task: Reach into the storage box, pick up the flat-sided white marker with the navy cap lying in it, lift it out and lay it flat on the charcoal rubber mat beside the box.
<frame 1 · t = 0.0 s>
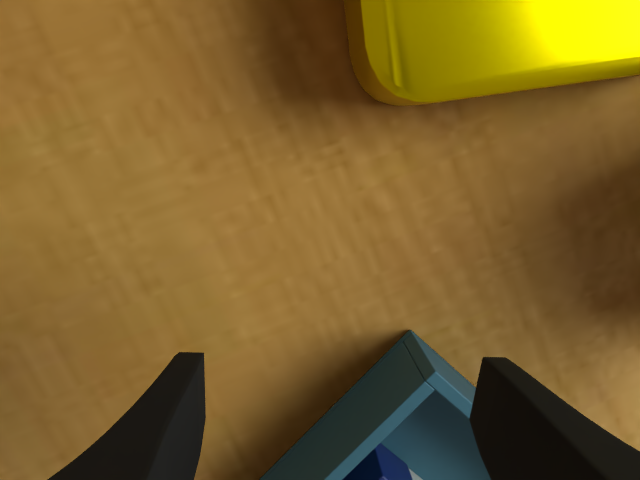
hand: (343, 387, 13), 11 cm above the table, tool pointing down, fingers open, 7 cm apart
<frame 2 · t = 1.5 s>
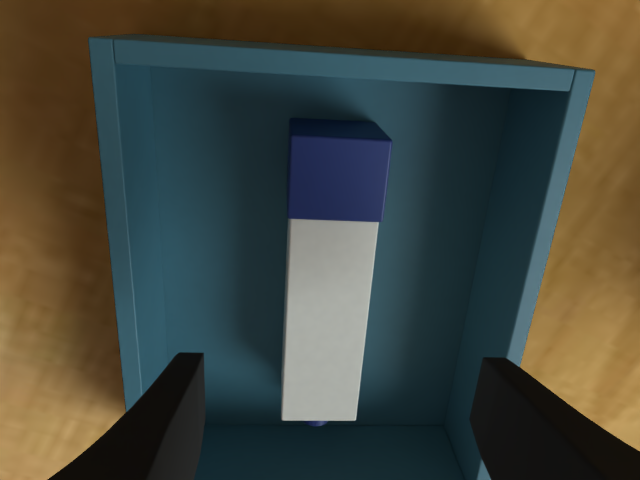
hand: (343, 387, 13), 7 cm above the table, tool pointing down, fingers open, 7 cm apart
storage box: (321, 267, 20), on the table
marker: (322, 267, 20), resting on storage box
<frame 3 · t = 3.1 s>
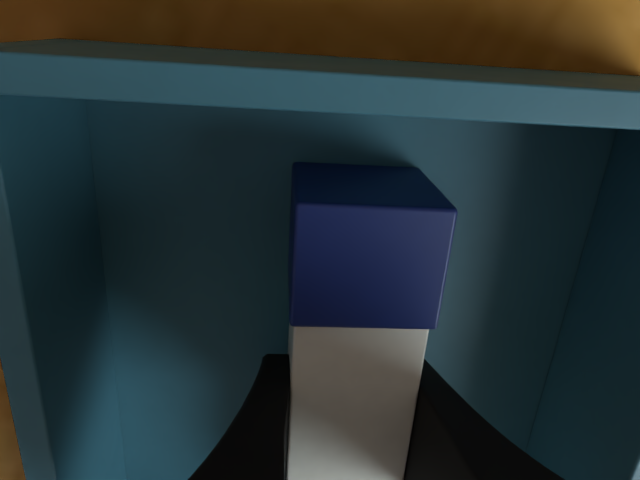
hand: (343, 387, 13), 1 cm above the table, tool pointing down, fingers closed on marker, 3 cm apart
storage box: (337, 360, 15), on the table
marker: (338, 363, 14), resting on storage box, touching gripper
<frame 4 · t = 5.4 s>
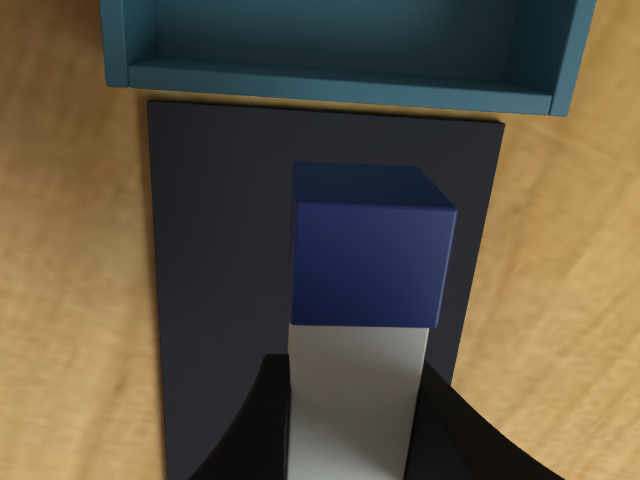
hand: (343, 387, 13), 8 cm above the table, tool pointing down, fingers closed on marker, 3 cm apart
mat: (313, 332, 22), on the table
marker: (338, 362, 14), point 7 cm above the table, touching gripper
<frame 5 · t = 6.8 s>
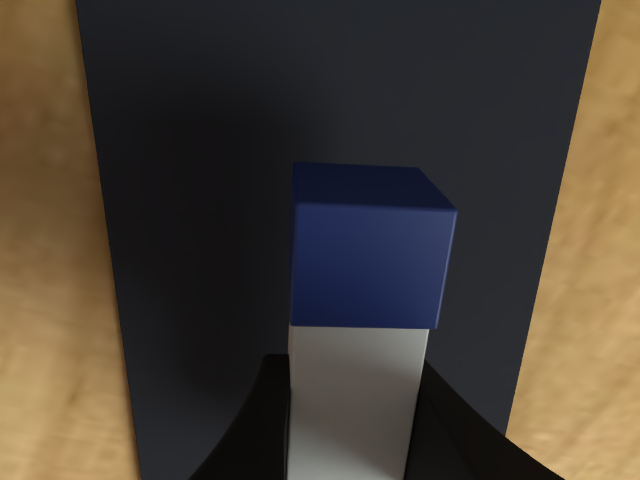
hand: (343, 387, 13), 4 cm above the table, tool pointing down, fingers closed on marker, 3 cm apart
mat: (330, 314, 16), on the table
marker: (338, 363, 14), point 3 cm above the table, touching gripper
when the fingers open (1 cm above the table, at t = 7.7 s): marker stays where it is, resting on mat.
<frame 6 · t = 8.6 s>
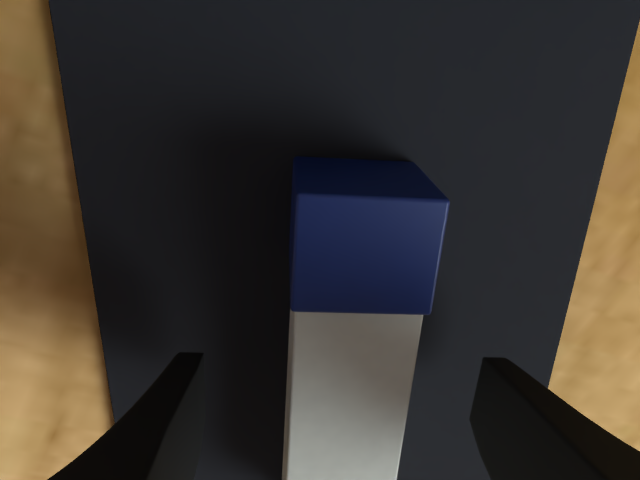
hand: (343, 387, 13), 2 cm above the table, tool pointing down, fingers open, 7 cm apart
mat: (336, 345, 15), on the table
marker: (337, 351, 15), resting on mat
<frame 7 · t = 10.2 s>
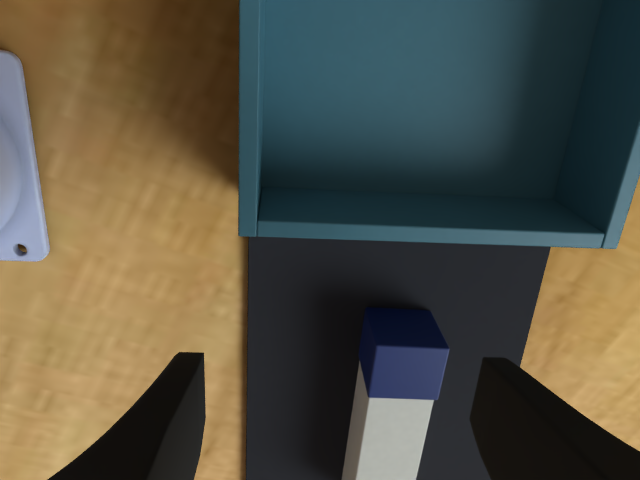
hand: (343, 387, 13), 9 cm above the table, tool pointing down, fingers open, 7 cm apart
mat: (379, 403, 25), on the table
marker: (380, 407, 25), resting on mat
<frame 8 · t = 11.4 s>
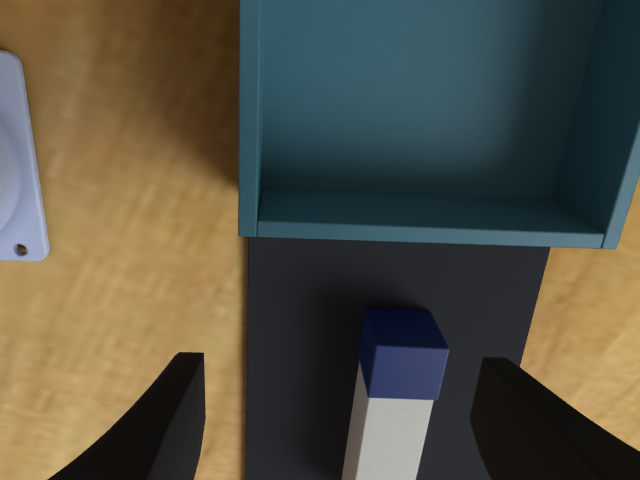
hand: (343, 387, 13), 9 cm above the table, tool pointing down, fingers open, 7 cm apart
mat: (379, 403, 25), on the table
marker: (380, 407, 25), resting on mat
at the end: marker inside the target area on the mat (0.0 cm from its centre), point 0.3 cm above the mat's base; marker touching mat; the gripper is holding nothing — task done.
